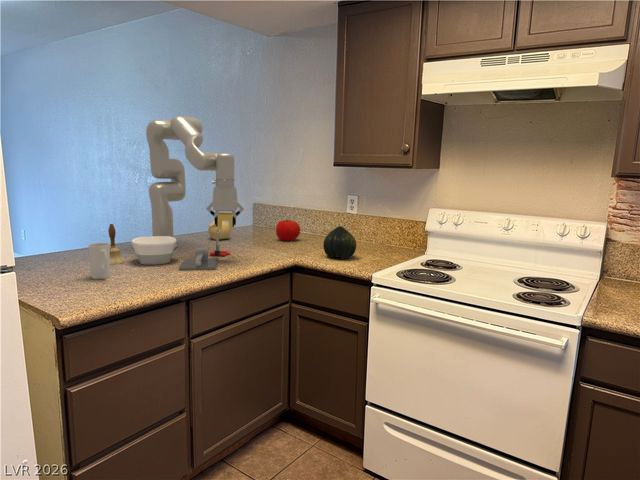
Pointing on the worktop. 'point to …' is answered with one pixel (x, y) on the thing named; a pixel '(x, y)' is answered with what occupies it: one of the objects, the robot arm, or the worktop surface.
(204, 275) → the worktop surface
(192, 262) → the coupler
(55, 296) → the worktop surface
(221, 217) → the notched yellow block
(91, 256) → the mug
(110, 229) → the hand bell
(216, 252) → the tow hook
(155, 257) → the bowl
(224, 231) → the sculpture
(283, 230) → the tomato
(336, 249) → the squash
